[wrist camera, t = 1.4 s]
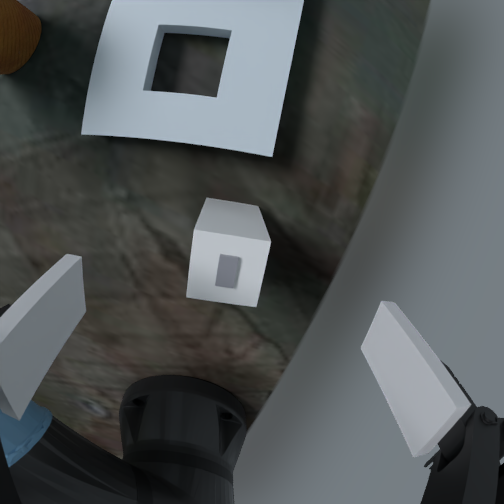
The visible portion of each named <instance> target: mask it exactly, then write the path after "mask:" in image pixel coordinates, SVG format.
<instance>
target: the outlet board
mask: <svg viewBox="0 0 504 504" xmlns="http://www.w3.org/2000/svg"><path fill="white" fill-rule="evenodd" d="M303 3H304V0H112V2H111V5H110V8H109V11H108V14H107V17H106V20H105V23H104V27H103V30H102V34H101V37H100V41H99V44H98V48H97V52H96V56H95V60H94V64H93V69H92V73H91V78H90V83H89V88H88V93H87V99H86V104H85V111H84V117H83V124H82V132H81V134H84V135H105V136H120V137H133V138H145V139H155V140H164V141H173V142H181V143H189V144H197V145H204V146H211V147H217V148H224V149H230V150H236V151H242V152H248V153H253V154H259V155H264V156H269V157H272V155H273V150H274V146H275V141H276V136H277V131H278V126H279V121H280V116H281V111H282V106H283V101H284V96H285V91H286V87H287V82H288V77H289V72H290V67H291V62H292V57H293V52H294V47H295V42H296V37H297V32H298V27H299V22H300V18H301V13H302V8H303ZM164 33H181V34H194V35H205V36H214V37H223V38H230V40H229V45H228V49H227V53H226V58H225V62H224V67H223V71H222V76H221V80H220V85H219V90H218V95H217V98H215V97H208V96H200V95H191V94H182V93H171V92H159V91H151V88H152V83H153V78H154V73H155V69H156V65H157V60H158V56H159V52H160V48H161V44H162V40H163V36H164Z"/></svg>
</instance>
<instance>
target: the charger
mask: <svg viewBox="0 0 504 504" xmlns="http://www.w3.org/2000/svg"><path fill="white" fill-rule="evenodd" d="M270 245H271V240H270V237H269V234H268V231H267V229H266V226H265V223H264V220H263V218H262V215H261V212H260V209H259V206H255V205H249V204H243V203H237V202H231V201H224V200H218V199H212V198H206V201H205V203H204V206H203V208H202V211H201V213H200V216H199V218H198V221H197V223H196V226H195V228H194V234H193V242H192V250H191V258H190V267H189V276H188V285H187V295H186V297H188V298H195V299H201V300H208V301H215V302H222V303H229V304H237V305H244V306H252V307H256V306H257V302H258V297H259V293H260V289H261V284H262V280H263V276H264V271H265V267H266V262H267V258H268V253H269V249H270Z"/></svg>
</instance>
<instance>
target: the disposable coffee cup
mask: <svg viewBox="0 0 504 504" xmlns="http://www.w3.org/2000/svg"><path fill="white" fill-rule="evenodd" d="M40 35H41V22H40V19H39V18H38V16H36V15H35V14H34V13H32V12H31V11H30V10H29V9H27V8H26V7H25V6H23V5H22V4H21V3H19V2H18V1H17V0H0V74H10V73H13V72H15V71H17V70H18V69H20V68H21V67H22V66H23V65H24V64H25V63H26V62H27V61H28V60H29V58H30V57H31V56H32V54H33V52H34V51H35V49H36V47H37V45H38V42H39V39H40Z"/></svg>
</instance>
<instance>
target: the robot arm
mask: <svg viewBox="0 0 504 504" xmlns="http://www.w3.org/2000/svg"><path fill="white" fill-rule="evenodd" d="M85 312H86V306H85V297H84V285H83V272H82V257H80V256H75V255H70V254H66V255H65V256H64V257H63V258H62V259H60V260H59V261H58V262H57V263H56V264H55V265H54V266H53V267H51V268H50V269H49V270H48V271H47V272H46V273H45V274H44V275H43V276H42V277H41V278H39V279H38V280H37V281H36V282H35V283H34V284H33V285H32V286H31V287H30V288H29V289H28V290H27V291H26V292H25V293H24V294H23V295H22V296H21V297H20V298H19V299H18V300H17V301H16V302H15V303H14V304H13V305H9V304H8V305H6V306H4V307H2V308H0V504H234V494H233V470H234V467H235V465H236V462H237V459H238V457H239V454H240V451H241V448H242V445H243V443H244V440H245V437H246V431H247V427H246V414H245V410H244V408H243V406H242V405H241V403H240V402H239V401H238V400H237V399H236V398H235V397H234V396H233V395H232V394H230V393H229V392H228V391H226V390H224V389H222V388H221V387H219V386H217V385H214V384H212V383H209V382H206V381H203V380H200V379H196V378H191V377H185V376H176V375H161V376H153V377H148V378H145V379H142V380H139V381H137V382H135V383H134V384H132V385H131V386H130V387H129V388H128V389H127V390H126V392H125V394H124V396H123V399H122V402H121V406H120V410H119V421H120V431H121V439H122V447H123V459H120V458H118V457H116V456H114V455H112V454H111V453H109V452H107V451H105V450H104V449H102V448H100V447H99V446H97V445H95V444H94V443H92V442H91V441H89V440H87V439H86V438H84V437H83V436H81V435H80V434H78V433H77V432H75V431H74V430H72V429H71V428H69V427H68V426H66V425H65V424H63V423H62V422H61V421H59V420H58V419H57V418H55V417H54V416H52V413H51V411H49V410H48V409H47V408H45V407H41V406H39V405H37V404H36V403H35V402H33V401H32V400H31V398H32V397H33V395H34V393H35V391H36V390H37V388H38V386H39V384H40V383H41V381H42V379H43V378H44V376H45V374H46V373H47V371H48V369H49V368H50V366H51V364H52V363H53V361H54V359H55V358H56V356H57V355H58V353H59V351H60V350H61V348H62V347H63V345H64V344H65V342H66V341H67V339H68V338H69V336H70V335H71V333H72V331H73V330H74V329H75V327H76V326H77V324H78V323H79V321H80V320H81V318H82V317H83V315H84V314H85ZM361 350H362V352H363V354H364V356H365V358H366V360H367V362H368V364H369V366H370V368H371V370H372V372H373V374H374V376H375V378H376V380H377V382H378V384H379V386H380V388H381V390H382V392H383V394H384V396H385V397H386V400H387V402H388V404H389V406H390V408H391V410H392V412H393V415H394V417H395V419H396V421H397V423H398V425H399V427H400V429H401V432H402V434H403V436H404V438H405V440H406V443H407V445H408V447H409V449H410V451H411V454H412V456H413V457H416V456H420V455H424V454H427V453H429V452H430V451H431V450H432V449H433V448H434V447H435V446H436V445H437V444H438V445H439V447H440V450H439V451H438V452H437V453H436V454H435V455H434V456H433V457H432V458H431V459H430V460H429V461H427V462H426V464H425V465H424V467H427V466H428V465H429V464H430V463H431V462H433V465H432V466H431V467H430V468H429V469H431V473H430V476H429V480H428V483H427V486H426V489H425V492H424V495H423V498H422V501H421V504H504V463H503V464H502V465H500V461H499V460H500V459H501V458H502V457H504V418H498V417H497V415H496V414H495V413H494V412H493V411H492V410H491V409H489V408H488V407H484V406H481V407H478V408H477V407H476V405H475V404H474V403H473V401H472V400H471V398H470V397H469V395H468V394H467V393H466V391H465V389H464V388H463V387H462V385H461V384H459V381H458V380H457V378H456V377H454V374H453V373H452V371H451V370H450V369H449V367H448V366H447V365H445V364H444V363H443V362H442V361H441V360H440V359H439V358H438V357H437V356H436V354H435V353H434V352H433V350H432V349H431V348H430V346H429V345H428V344H427V342H426V341H425V340H424V338H423V337H422V336H421V335H420V333H419V332H418V331H417V330H416V328H415V327H414V326H413V324H412V323H411V322H410V321H409V320H408V318H407V317H406V316H405V315H404V313H403V312H402V311H401V310H400V308H399V307H398V306H397V305H396V304H395V302H388V301H381V303H380V306H379V308H378V310H377V312H376V315H375V317H374V319H373V322H372V324H371V326H370V329H369V331H368V333H367V335H366V337H365V339H364V342H363V344H362V346H361Z"/></svg>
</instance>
